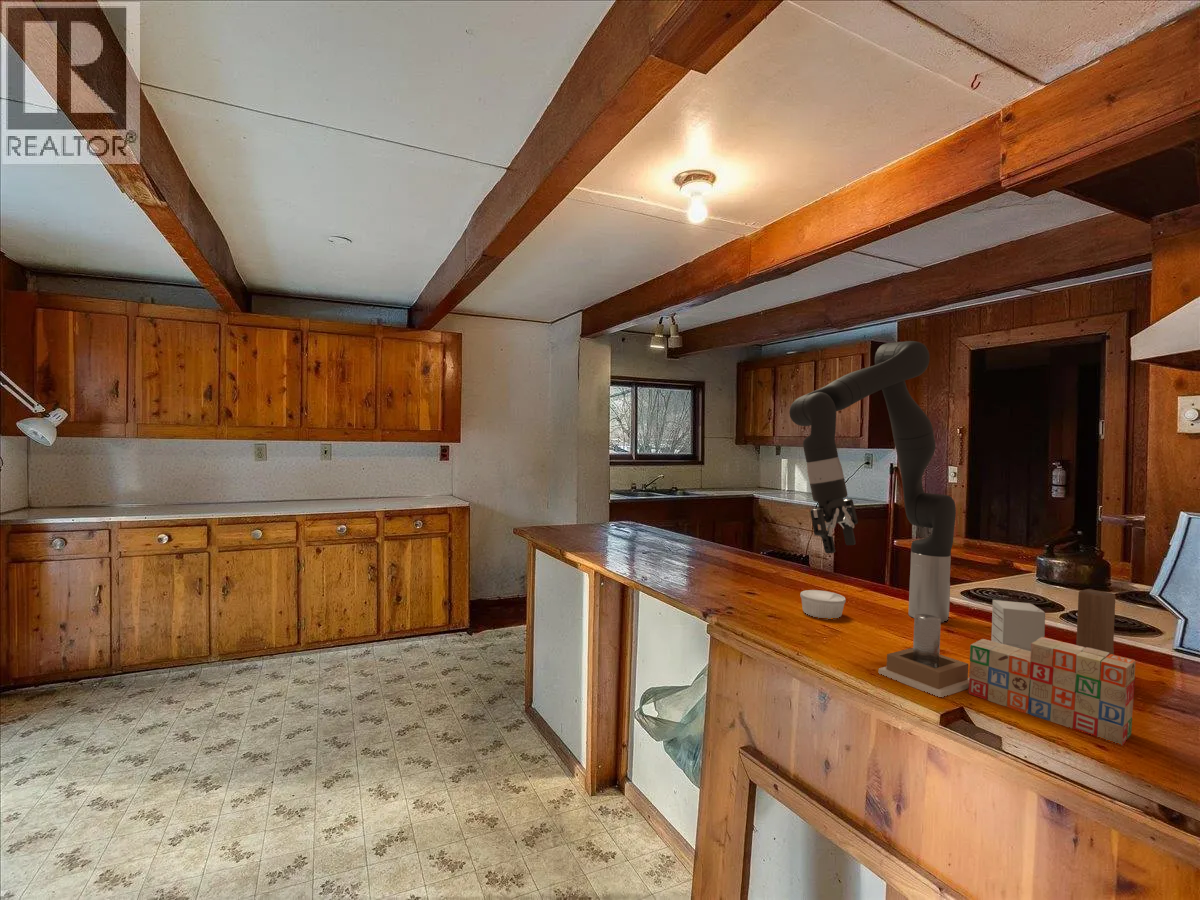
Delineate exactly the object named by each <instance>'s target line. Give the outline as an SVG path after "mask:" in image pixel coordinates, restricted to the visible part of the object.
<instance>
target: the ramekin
mask: <svg viewBox="0 0 1200 900" xmlns="http://www.w3.org/2000/svg"><path fill="white" fill-rule="evenodd" d="M799 596H800V598H801V606H802V611H803V613H804V614H805V613H806V614H805V615H807V614H808V615H807V616H809V615H810V616H809V617H811V616H813V617H812V618H814V617H818V618H817V619H819V618H828V619H831V618H838V619H840V618H841V617H842V615H843V611H844V607H845V604H846V597H845V596H844V595H841V594H839V593H836V592H831V591H827V590H818V589H808V590H806V589H805V590H803V591H801V592H800V595H799ZM839 617H840V618H839ZM828 619H827V620H828Z"/></svg>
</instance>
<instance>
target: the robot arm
mask: <svg viewBox="0 0 1200 900" xmlns="http://www.w3.org/2000/svg"><path fill="white" fill-rule="evenodd" d="M929 363H930V351H929V350H928V348H927V346H926V344H924V343H922V342H919V341H916V340H915V341H914V340H906V341H905V340H904V341H897V342H888V343H883V344H881V345H880V346H879V347H878V348H877V350H876V351H875V355H874V365H871V366H868V367H864V368H861V369H859V370H858V369H857V370H855V371H851V372H849V373H847V374H844V375H842V376H840V377H839V378H836V379H835V380H833V381H831V382H830V383H827V385H824V386H823V387H820V388H818V389H816V390H813V391H811V392H808V393H806V394H804V395H802V396H799V397H797V398H796V399H795V400H794V401H793V402H792V403H791V405H790V407H789V413H788V414H789V417H790V420H791V421H792V422H793V423H794V424H795V425H798V426H799V427H800V426H801V427H809V426H810V434H809V436H807V437H805V438H804V439H803V442H802V446H803V453H804V457H805V458H804V459H805V462H806V470H807V476H808V480H809V487H810V491H811V496H812V500H813V501H814V502H815V503H818V508H811V509H810V517H811V522H812V529H813V534H814V536H819V537H820V538H821V541H822V545H823V549H824V552H825V553H826V554H834V553H836V547H835V542H834V536H832V535H833V529H834V528H836V525H837V524H839V525H840V526H841V527H842V535H843V538H844V543H845V545H846V546H854V545H856V544H857V543H856V538H855V531H854V528H855V525H857V524H858V523H859V520H858V516H857V512H856V508H855V505H854V500H853V499H852V498H850V499H849V498H848V499H846V498H847V497H848V495H849V494H848V490H847V485H846V481H845V475H844V472H843V467H842V464H841V462H840V457H839V452H838V449H837V443H836V439H835V438H836V431H837V430H836V429H837V427H836V426H837V412H839V411H842V410H845V409H847V408H848V407H851V406H853V405H854V404H855V403H858V402H859V401H862V400H863V399H864V398H867V397H868V396H871V395H872V394H875V393H877V392H879V391H882V394H883V397H884V400H885V405H886V408H887V412H888V416H889V421H890V426H891V431H892V437H893V442H894V448H895V451H896V456H897V460H898V464H899V465H898V466H899V470H900V474H901V475H900V476H901V482H902V492H903V493H902V494H903V501H904V510H905V515H906V518H907V520H908V522H909V523H910V524H911V525H912V526H916V527H921V528H927V529H932V531H931V534H930V536H928V537H925V538H921V539H915V540H913V541H912V542H911V544H910V545H911V547H910V572H909V574H910V575H909V588H908V589H909V591H908V612H907V613H908V616H909V617H911V618H913V619H914V616H915V614H926V615H932V616H936V617H938V618H940V619H941V623H945V622H944V621H947V620H948V621H949V618H950V601H951V600H950V598H951V582H950V581H951V580H950V579H951V557H952V547H953V544H954V536H955V535H954V533H955V523H956V515H957V511H956V509H957V507H956V503H955V500H954V499H953V497H952V496H950V495H948V494H940V493H939V494H938V493H929V492H925V491H924V487H923V476H924V473H925V471H926V468H927V467H928V465H929V463H930V462H931V460H932V458H933V456H934V454H935V452H936V439H935V435H934V430H933V429H934V428H933V424H932V421H931V419H929V417H928V416H927V414H926V413H925V412H924V411H923V409H922V408H921V407H920V405H919V404H918V403H917V402H916V401H915V400H914V398H913V397H912V396H911V394H910V392H909V389H908V387H907V383H906V381H907V380H910V379H914V378H917V377H919V376H921V375H922V374H924V372H925V371H926V370H927V368H928V367H929ZM819 527H820V528H819ZM948 617H949V618H948ZM948 621H947V622H948Z"/></svg>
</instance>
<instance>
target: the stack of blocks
mask: <svg viewBox="0 0 1200 900" xmlns="http://www.w3.org/2000/svg"><path fill="white" fill-rule="evenodd" d="M1135 673H1136V660H1135V659H1133V658H1129V657H1125V656H1124V657H1123V656H1120V655H1118V654H1117V655H1116V654H1114V655H1113V654H1110V653H1109V652H1105V651H1101V650H1097V649H1093V648H1088V647H1086V648H1085V647H1082V646H1078V645H1076V644H1073V643H1069V642H1065V641H1064V642H1063V641H1060V640H1056V639H1052V638H1047V637H1045V636H1044V637H1041V638H1039V639H1038V640H1036V641H1035V642H1033V643H1031V651H1027V650H1023V649H1020V648H1016V647H1013V646H1009V645H1005V644H1000V643H997V642H993V641H991V640H989V639H986V638H985V639H984V638H981V639H980V640H976V642H973V643H971V644H970V646H969V668H968V678H969V688H968V695H971V696H975V697H977V698H980V699H982V700H983V699H984V700H987V701H989V702H991V703H994V704H997V705H1000V706H1003V707H1007V708H1009V709H1012V710H1015V711H1018V712H1020V713H1023V714H1026V715H1027V714H1029V716H1030V715H1031V716H1033V717H1036V718H1039V719H1043V720H1046V721H1048V722H1052V723H1054V724H1057V725H1061V726H1064V727H1066V728H1069V727H1070V728H1069V729H1072V728H1073V729H1072V730H1074V729H1077V730H1080V731H1083V732H1086V733H1089V734H1092V735H1095V736H1097V737H1096V738H1098V737H1101V738H1104V739H1106V740H1105V741H1107V740H1110V741H1113V742H1115V743H1114V744H1116V743H1119V744H1121V745H1120V746H1124V744H1125V743H1126V742H1127V741H1128V739H1129V738H1130V737H1131V735H1132V731H1133V729H1132V727H1133V710H1134V696H1135V683H1136V680H1135V679H1136V678H1135V677H1136V676H1135ZM1077 730H1076V731H1077ZM1080 731H1079V732H1080ZM1083 732H1082V733H1083ZM1086 733H1085V734H1086ZM1089 734H1088V735H1089ZM1092 735H1091V736H1092ZM1095 736H1094V737H1095ZM1101 738H1100V739H1101ZM1104 739H1103V740H1104ZM1126 740H1127V741H1126ZM1110 741H1109V742H1110ZM1113 742H1112V743H1113ZM1119 744H1118V745H1119Z"/></svg>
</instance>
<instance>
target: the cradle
mask: <svg viewBox="0 0 1200 900" xmlns="http://www.w3.org/2000/svg"><path fill="white" fill-rule="evenodd" d="M878 673H879V675H881V674H882V676H883V675H884V676H883V677H886V676H887V678H889V679H891V678H892V680H894V681H896V680H897V682H900V683H901V684H903V685H907V686H909V687H911V688H913V689H917V690H919V691H922V692H924V691H925V693H927V692H928V693H927V694H929V693H930V695H932V694H933V695H932V696H934V695H935V697H937V696H938V698H939V697H942V698H945V697H947V695H948V696H951V695H954V694H956V693H959V692H963V691H965V690H969V663H968V662H964V661H960V660H958V659H955V658H952V657H949V656H945V655H943V654H940V653H939V667H938V668H933V667H930V666H927V665H924V664H921V663H919V662H916V661H913V647H911V648H906V649H902V650H898V651H895V652H891V653H887V654H886V666H883V667H880V668H878ZM944 696H945V697H944Z"/></svg>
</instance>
